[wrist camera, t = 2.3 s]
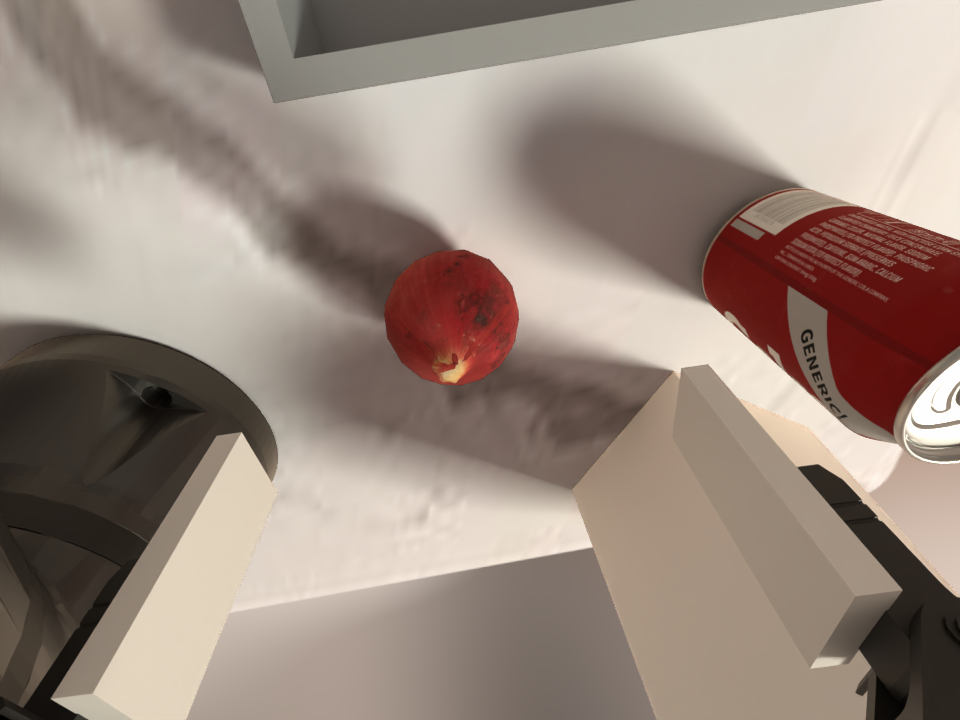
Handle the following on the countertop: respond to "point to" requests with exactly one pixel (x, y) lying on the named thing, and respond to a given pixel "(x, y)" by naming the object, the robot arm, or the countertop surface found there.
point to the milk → (706, 581)
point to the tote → (465, 34)
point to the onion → (452, 317)
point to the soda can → (849, 312)
